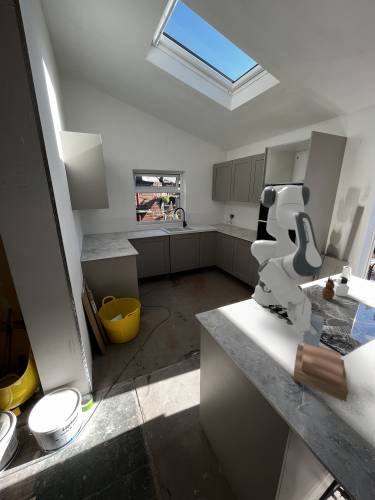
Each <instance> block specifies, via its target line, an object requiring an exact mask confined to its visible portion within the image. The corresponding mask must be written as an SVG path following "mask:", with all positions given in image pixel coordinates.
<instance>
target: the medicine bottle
mask: <svg viewBox="0 0 375 500" xmlns="http://www.w3.org/2000/svg"><path fill="white" fill-rule="evenodd" d="M335 279H336V280H335V281H333V282H334V288H333V290H334V292H335V294H334V296H337V297H347V296H348V294H349V290H350V286H348V285H347V284H348V281H349V279H348V278H347V277H345V276H342V275H341V276H336V278H335Z"/></svg>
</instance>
